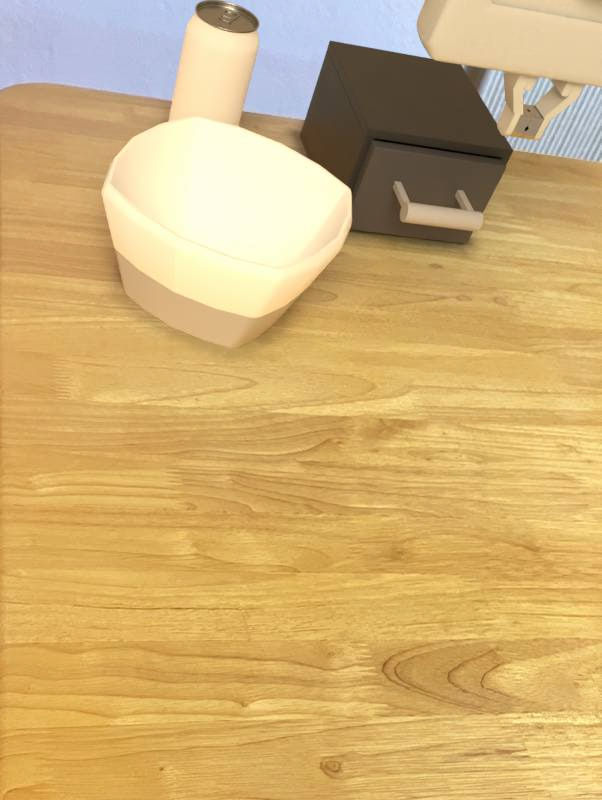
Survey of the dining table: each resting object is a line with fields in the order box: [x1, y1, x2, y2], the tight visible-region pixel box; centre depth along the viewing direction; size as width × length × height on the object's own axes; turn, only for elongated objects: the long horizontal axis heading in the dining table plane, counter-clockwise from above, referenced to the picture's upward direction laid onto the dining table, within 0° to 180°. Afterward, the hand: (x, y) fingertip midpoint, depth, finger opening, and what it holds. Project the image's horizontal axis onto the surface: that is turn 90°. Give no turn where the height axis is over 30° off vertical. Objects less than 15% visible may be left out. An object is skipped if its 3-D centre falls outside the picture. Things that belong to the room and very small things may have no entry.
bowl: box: [100, 115, 352, 349], centre depth 67 cm, size 18×18×9 cm
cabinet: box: [299, 40, 514, 193], centre depth 83 cm, size 16×14×10 cm
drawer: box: [350, 138, 507, 245], centre depth 81 cm, size 20×12×8 cm, turn 7°
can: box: [167, 0, 260, 127], centre depth 80 cm, size 6×6×12 cm
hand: (516, 134), depth 65 cm, fingers closed
